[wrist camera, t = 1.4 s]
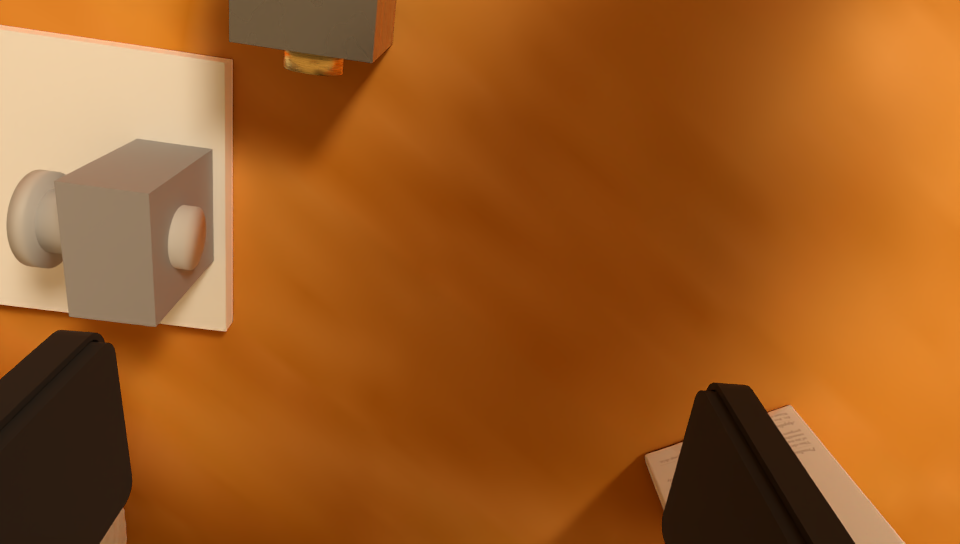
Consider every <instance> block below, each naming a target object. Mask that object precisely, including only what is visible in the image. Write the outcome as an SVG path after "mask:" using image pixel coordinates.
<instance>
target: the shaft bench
mask: <svg viewBox="0 0 960 544" xmlns="http://www.w3.org/2000/svg"><path fill="white" fill-rule="evenodd" d="M0 305H9V306H17V307H25V308H34V309H42V310H50V311H59V312H67V313H69V317H77V318H85V319H94V320H102V321H110V322H119V323H127V324H135V325H144V326H152V327H156V326H157V325H158V324H167V325H175V326H183V327H192V328H200V329H208V330H217V331H225V332H226V331H227V329H228V328H229V326H230V325H231V323H232V322H233V59H226V58H220V57H213V56H206V55H199V54H193V53H186V52H179V51H173V50H166V49H159V48H152V47H146V46H139V45H132V44H125V43H119V42H112V41H105V40H99V39H92V38H85V37H78V36H72V35H65V34H58V33H51V32H45V31H38V30H31V29H25V28H18V27H11V26H4V25H0Z"/></svg>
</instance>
